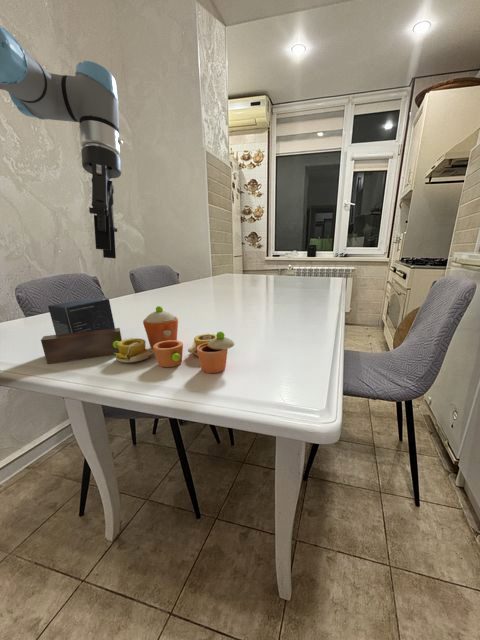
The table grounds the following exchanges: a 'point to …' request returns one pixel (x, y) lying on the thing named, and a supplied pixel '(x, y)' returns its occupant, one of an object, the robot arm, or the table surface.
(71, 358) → the block
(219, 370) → the toy tea set
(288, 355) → the table surface
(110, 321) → the box
